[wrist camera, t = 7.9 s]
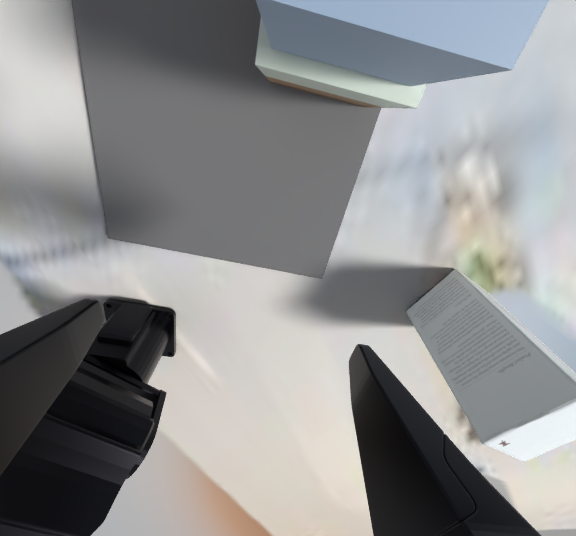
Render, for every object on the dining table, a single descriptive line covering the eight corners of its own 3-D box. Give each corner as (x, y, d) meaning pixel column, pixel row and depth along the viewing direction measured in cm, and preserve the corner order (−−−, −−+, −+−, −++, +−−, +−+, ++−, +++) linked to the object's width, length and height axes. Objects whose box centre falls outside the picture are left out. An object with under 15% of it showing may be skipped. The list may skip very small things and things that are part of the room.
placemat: (321, 276, 24) (322, 278, 23) (111, 236, 22) (108, 238, 21) (478, -181, 11) (484, -190, 11) (23, -365, 9) (13, -383, 9)
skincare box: (433, 328, 27) (521, 464, 17) (404, 310, 26) (479, 445, 15) (486, 287, 24) (630, 421, 14) (455, 265, 23) (588, 394, 13)
